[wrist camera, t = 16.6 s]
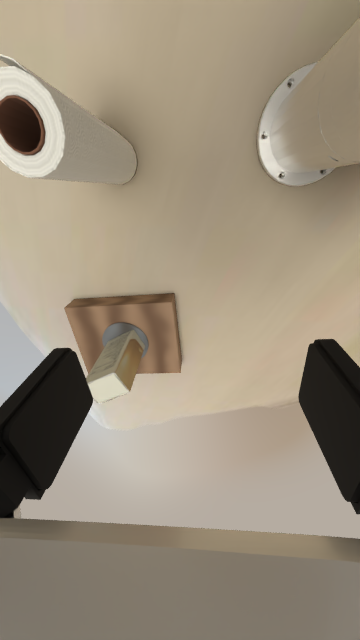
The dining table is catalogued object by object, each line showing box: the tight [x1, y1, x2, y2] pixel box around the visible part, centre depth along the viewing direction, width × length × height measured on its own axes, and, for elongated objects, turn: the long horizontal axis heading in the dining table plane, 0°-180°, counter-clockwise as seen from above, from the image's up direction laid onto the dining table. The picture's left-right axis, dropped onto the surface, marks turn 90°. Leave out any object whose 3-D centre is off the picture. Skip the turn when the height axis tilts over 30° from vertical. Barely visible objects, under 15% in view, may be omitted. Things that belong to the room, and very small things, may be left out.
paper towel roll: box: [0, 54, 137, 184], centre depth 25 cm, size 7×6×21 cm
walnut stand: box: [64, 293, 182, 374], centre depth 47 cm, size 20×16×4 cm
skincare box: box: [86, 330, 145, 404], centre depth 40 cm, size 6×4×12 cm
